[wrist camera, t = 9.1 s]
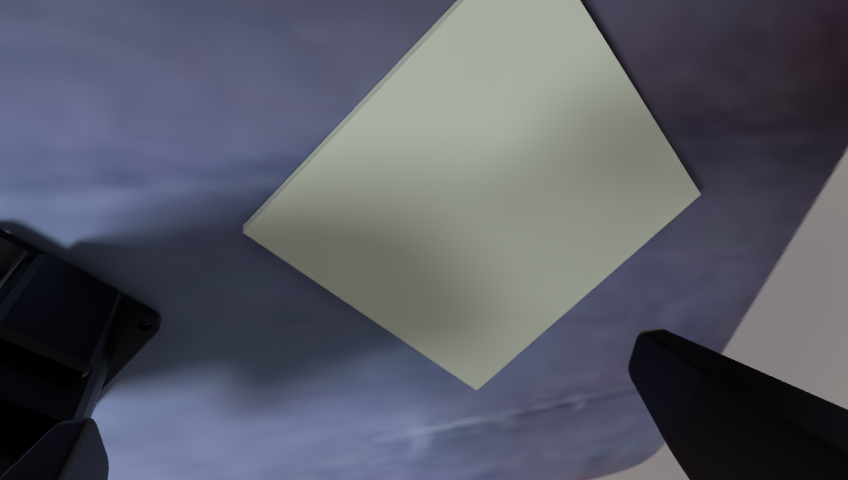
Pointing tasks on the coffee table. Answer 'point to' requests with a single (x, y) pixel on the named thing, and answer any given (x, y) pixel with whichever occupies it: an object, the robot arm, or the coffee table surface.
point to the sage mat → (481, 185)
